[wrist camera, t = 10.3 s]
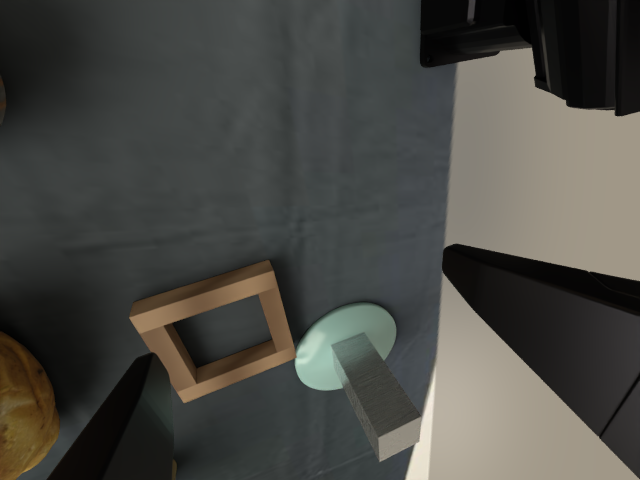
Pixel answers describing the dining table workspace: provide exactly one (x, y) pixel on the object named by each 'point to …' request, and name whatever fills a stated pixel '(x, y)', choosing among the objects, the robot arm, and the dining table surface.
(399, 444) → the steel bar
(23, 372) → the bread roll
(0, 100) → the vase
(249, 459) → the dining table surface
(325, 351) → the teal coaster
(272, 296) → the walnut collar
